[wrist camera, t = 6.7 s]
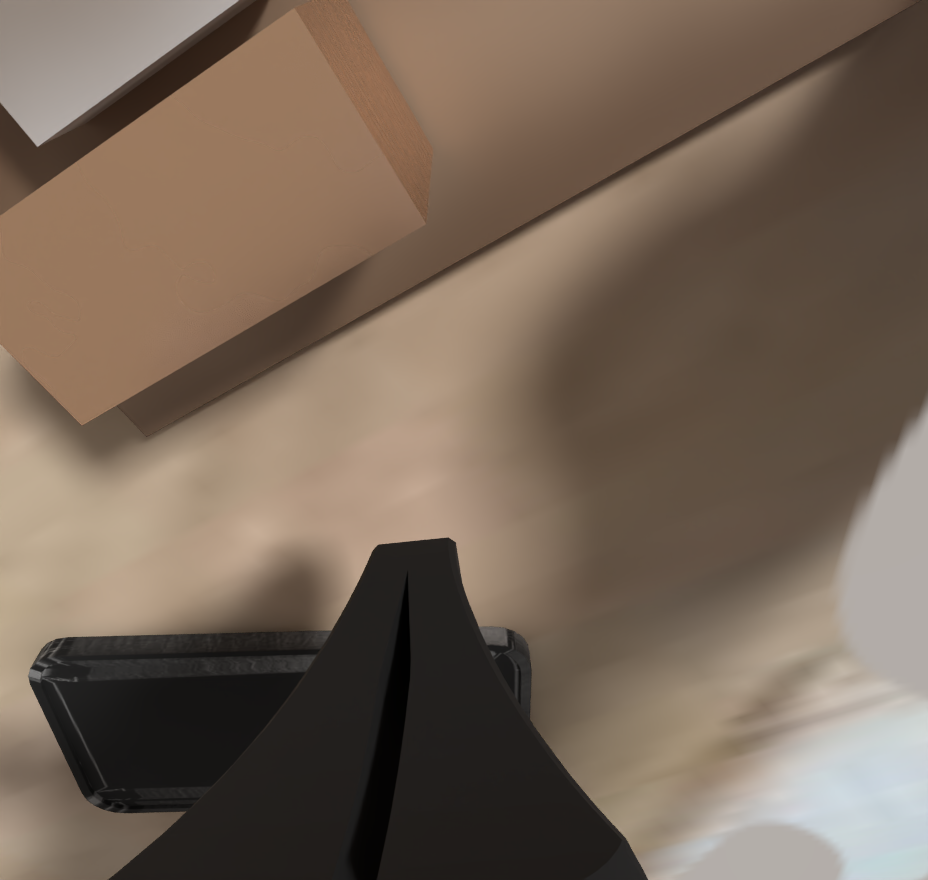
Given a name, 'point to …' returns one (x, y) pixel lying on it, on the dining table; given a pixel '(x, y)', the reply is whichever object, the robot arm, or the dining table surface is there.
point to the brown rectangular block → (212, 211)
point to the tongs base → (433, 105)
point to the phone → (184, 706)
